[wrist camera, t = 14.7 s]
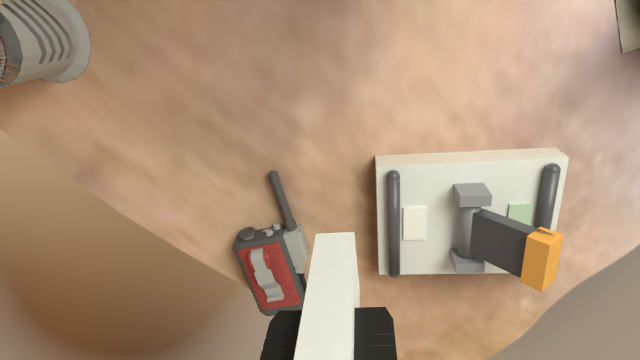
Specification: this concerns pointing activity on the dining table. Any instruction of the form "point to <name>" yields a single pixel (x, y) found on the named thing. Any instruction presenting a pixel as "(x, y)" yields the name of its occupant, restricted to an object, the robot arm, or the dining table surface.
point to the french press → (42, 41)
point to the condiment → (629, 24)
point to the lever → (510, 245)
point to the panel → (459, 203)
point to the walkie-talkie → (275, 260)
